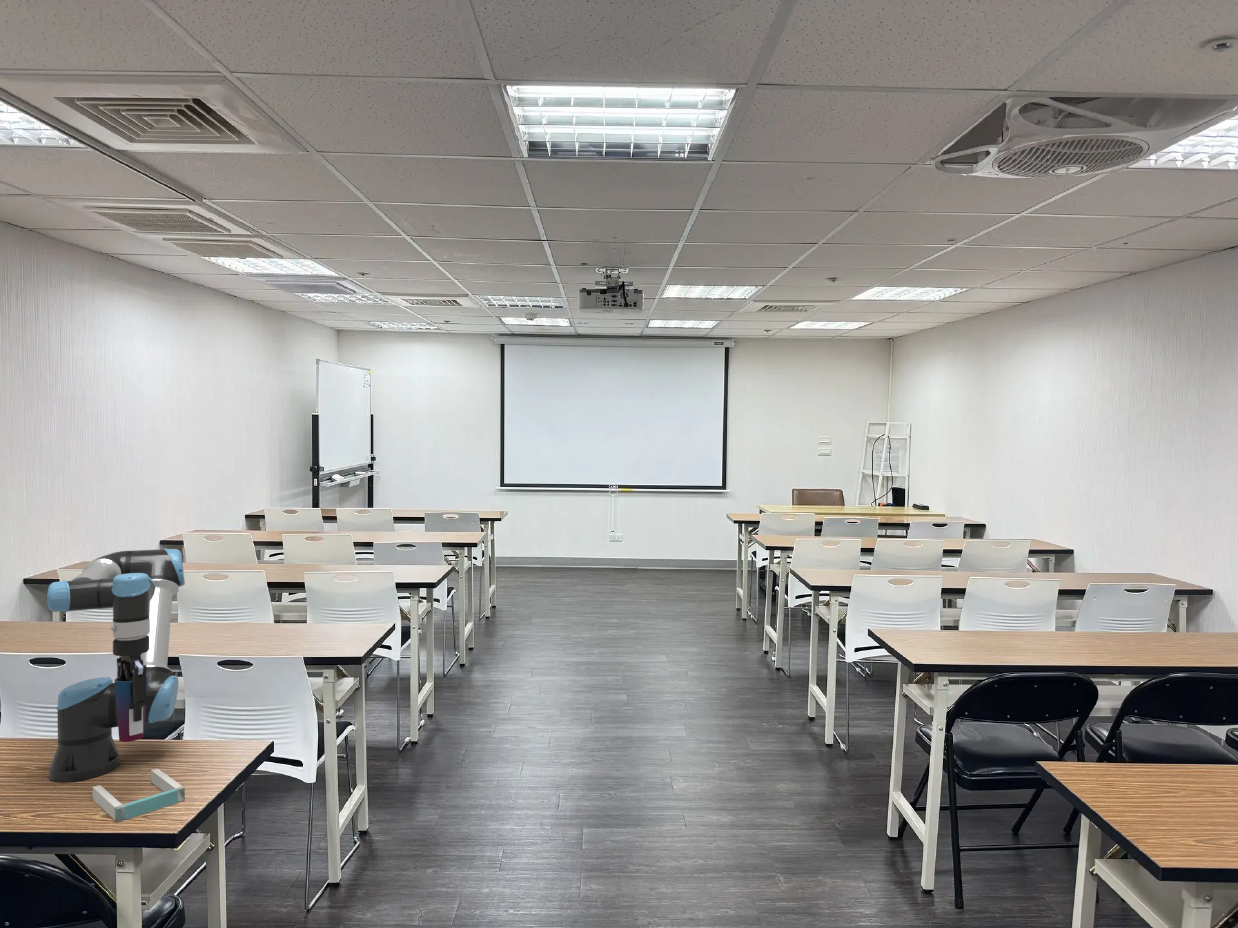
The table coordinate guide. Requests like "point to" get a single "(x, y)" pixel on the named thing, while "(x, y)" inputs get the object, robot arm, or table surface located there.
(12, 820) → the table surface
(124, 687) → the cup
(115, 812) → the bay
